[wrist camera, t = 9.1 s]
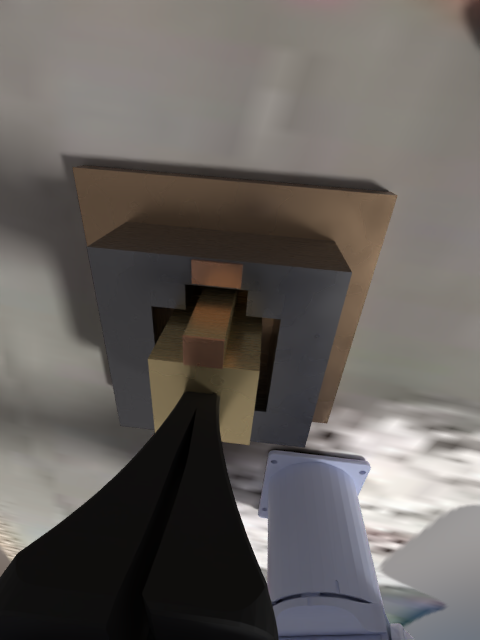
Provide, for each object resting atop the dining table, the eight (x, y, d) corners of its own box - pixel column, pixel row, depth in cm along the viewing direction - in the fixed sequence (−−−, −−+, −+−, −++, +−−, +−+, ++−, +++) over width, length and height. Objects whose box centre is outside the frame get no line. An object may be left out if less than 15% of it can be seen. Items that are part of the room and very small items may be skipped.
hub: (325, 412, 23) (337, 478, 19) (121, 389, 23) (87, 448, 19) (390, 191, 15) (438, 216, 11) (83, 165, 16) (10, 179, 11)
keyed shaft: (256, 346, 19) (249, 447, 13) (191, 339, 19) (154, 435, 13) (266, 266, 16) (263, 345, 10) (190, 258, 17) (144, 332, 11)
